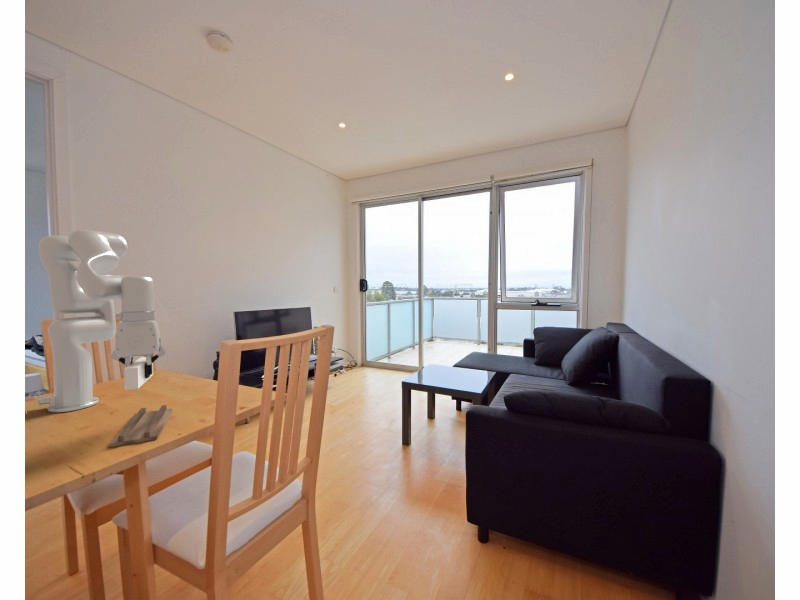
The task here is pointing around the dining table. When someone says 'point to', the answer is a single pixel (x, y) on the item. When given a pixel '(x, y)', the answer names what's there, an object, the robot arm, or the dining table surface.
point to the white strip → (135, 374)
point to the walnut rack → (143, 427)
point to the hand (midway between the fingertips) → (140, 377)
